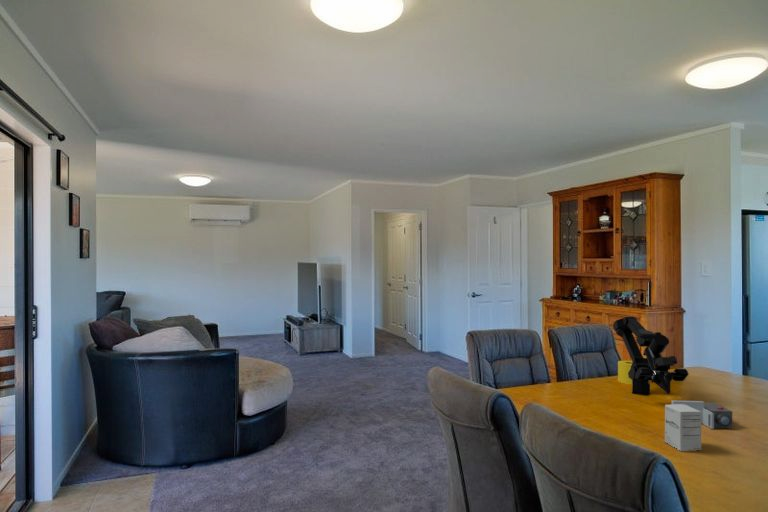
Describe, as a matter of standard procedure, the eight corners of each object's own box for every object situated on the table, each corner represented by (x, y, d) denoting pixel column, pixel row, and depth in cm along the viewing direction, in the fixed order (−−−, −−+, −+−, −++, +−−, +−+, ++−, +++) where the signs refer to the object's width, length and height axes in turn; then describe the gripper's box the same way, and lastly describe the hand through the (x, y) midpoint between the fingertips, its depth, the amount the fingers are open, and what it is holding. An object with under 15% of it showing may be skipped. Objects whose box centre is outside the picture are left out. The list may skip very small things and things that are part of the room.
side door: (671, 421, 171) (671, 400, 172) (702, 422, 171) (702, 401, 171) (681, 427, 165) (681, 406, 165) (713, 428, 164) (713, 406, 164)
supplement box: (663, 442, 152) (663, 404, 153) (685, 441, 153) (685, 403, 153) (680, 452, 145) (680, 411, 145) (702, 451, 146) (702, 411, 146)
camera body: (695, 417, 176) (695, 400, 176) (714, 418, 175) (714, 401, 175) (714, 429, 164) (714, 410, 164) (735, 430, 163) (735, 411, 163)
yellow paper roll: (613, 380, 230) (613, 361, 230) (628, 378, 233) (628, 359, 233) (630, 385, 220) (630, 365, 220) (645, 383, 224) (645, 364, 224)
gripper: (638, 348, 190) (651, 382, 179) (686, 348, 188) (702, 383, 177) (629, 362, 198) (641, 396, 187) (675, 363, 196) (690, 397, 185)
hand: (668, 393), depth 184 cm, fingers closed
